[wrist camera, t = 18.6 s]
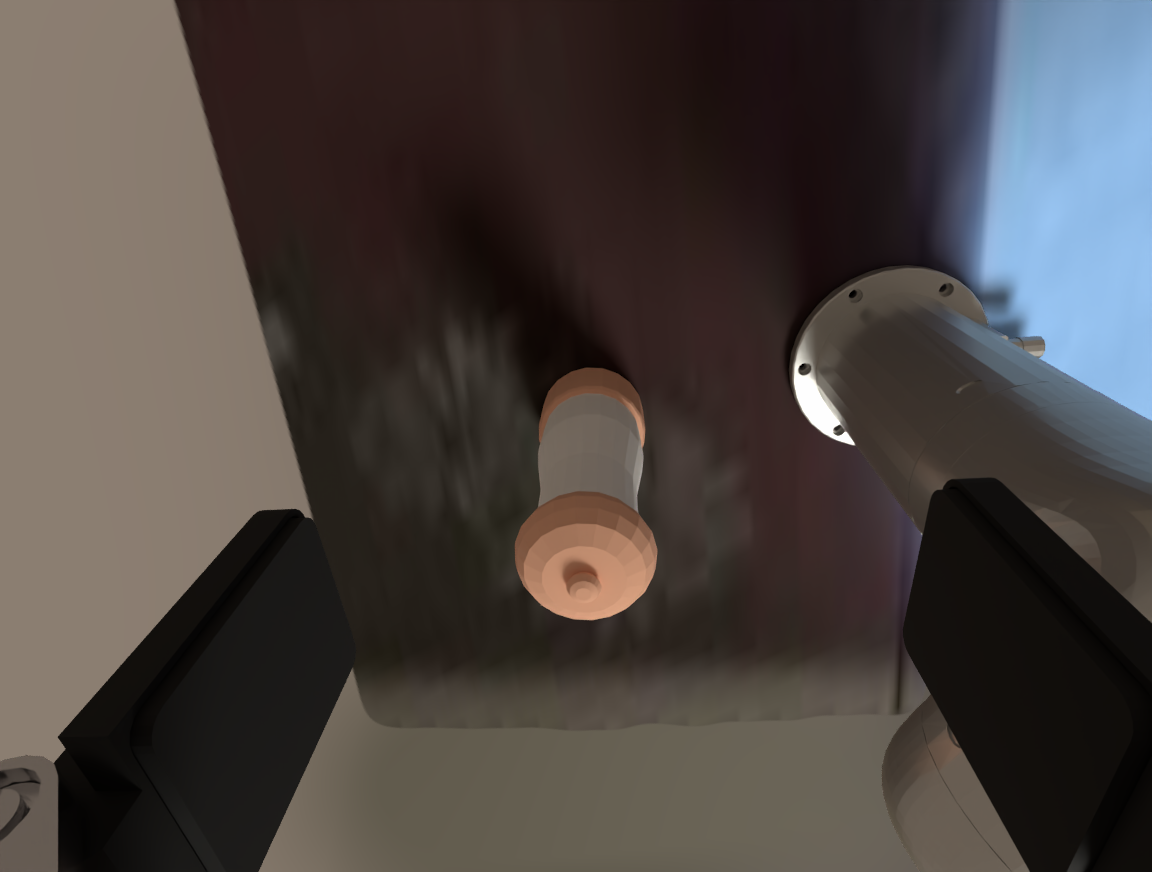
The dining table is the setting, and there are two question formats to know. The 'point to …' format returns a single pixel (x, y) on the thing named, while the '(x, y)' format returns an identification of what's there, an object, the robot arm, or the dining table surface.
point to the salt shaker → (588, 500)
